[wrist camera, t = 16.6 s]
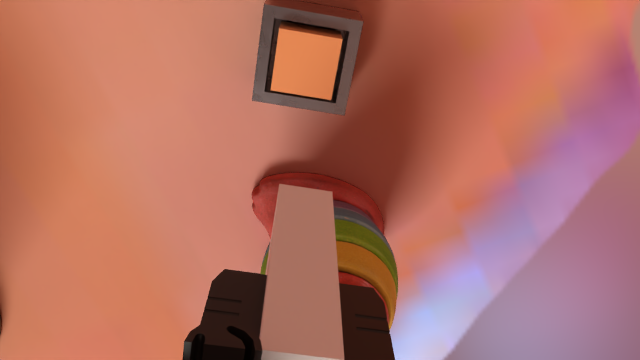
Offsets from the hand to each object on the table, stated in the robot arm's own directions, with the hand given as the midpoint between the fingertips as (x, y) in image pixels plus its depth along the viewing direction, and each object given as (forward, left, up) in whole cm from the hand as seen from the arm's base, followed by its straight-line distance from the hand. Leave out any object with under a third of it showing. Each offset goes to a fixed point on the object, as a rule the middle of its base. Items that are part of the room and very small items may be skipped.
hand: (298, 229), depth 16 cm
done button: (0, 0, -22) cm, 22 cm away
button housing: (0, 0, -24) cm, 24 cm away
